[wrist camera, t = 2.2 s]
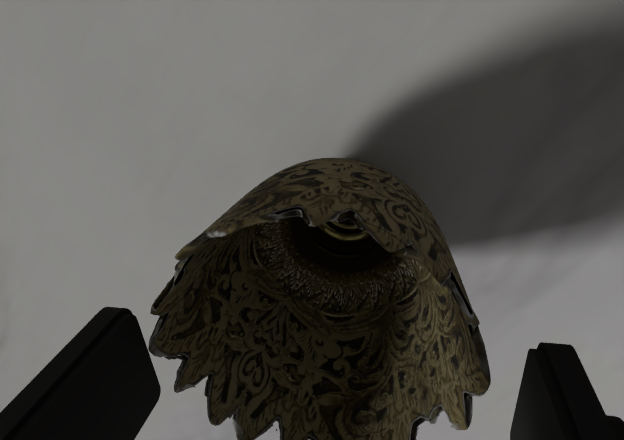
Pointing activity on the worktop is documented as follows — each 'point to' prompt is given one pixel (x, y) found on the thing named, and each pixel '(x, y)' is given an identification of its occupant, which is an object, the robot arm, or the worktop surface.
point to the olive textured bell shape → (324, 311)
